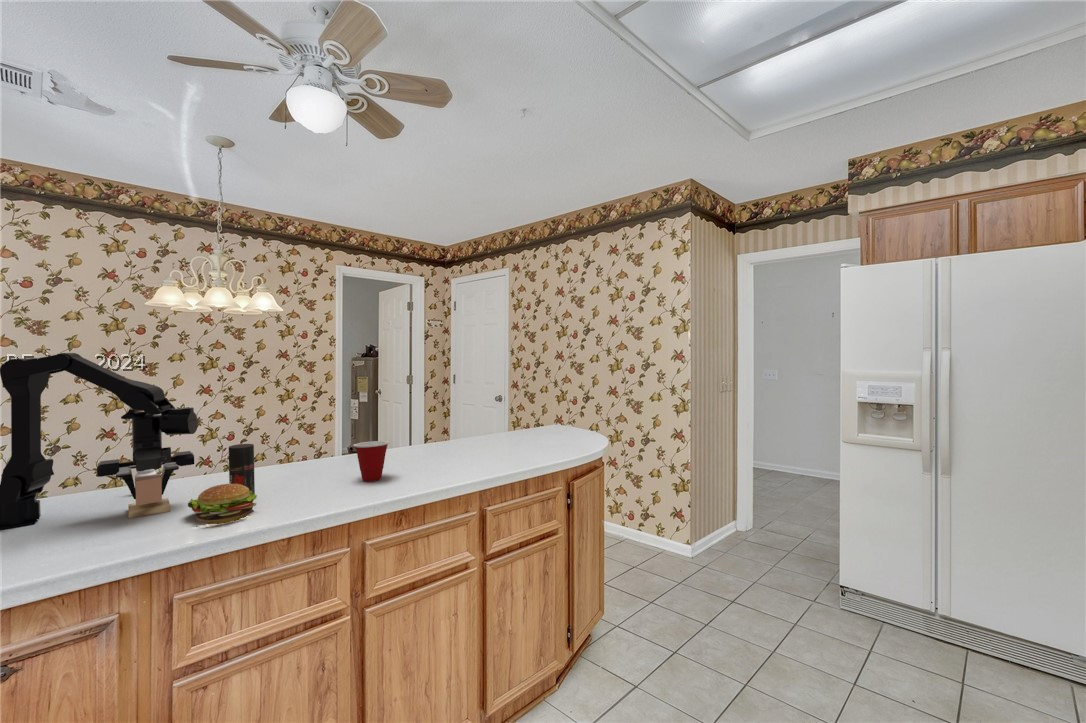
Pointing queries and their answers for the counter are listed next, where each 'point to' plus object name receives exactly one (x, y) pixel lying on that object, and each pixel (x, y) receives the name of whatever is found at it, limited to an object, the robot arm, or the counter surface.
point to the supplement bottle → (145, 473)
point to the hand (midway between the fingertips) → (148, 496)
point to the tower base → (145, 515)
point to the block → (148, 489)
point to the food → (223, 503)
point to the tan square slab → (148, 508)
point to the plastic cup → (371, 459)
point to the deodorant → (242, 465)
